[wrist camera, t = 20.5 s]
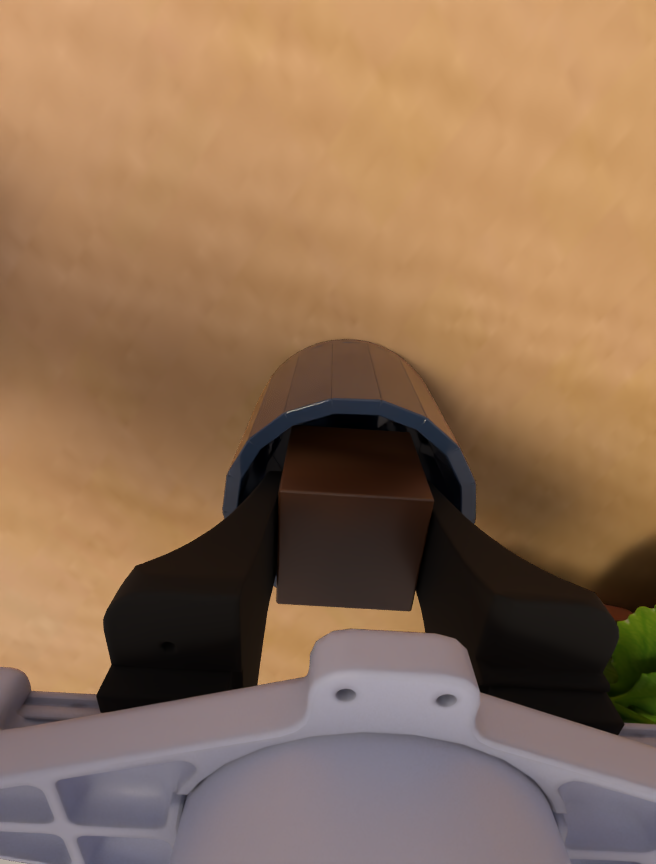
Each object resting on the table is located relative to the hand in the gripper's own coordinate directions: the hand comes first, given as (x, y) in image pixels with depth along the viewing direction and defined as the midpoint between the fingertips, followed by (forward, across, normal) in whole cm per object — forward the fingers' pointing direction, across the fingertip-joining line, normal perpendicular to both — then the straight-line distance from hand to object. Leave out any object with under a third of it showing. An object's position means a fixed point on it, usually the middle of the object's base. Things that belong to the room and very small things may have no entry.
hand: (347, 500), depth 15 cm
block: (+1, 0, 0) cm, 1 cm away
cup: (+6, 0, 0) cm, 6 cm away
